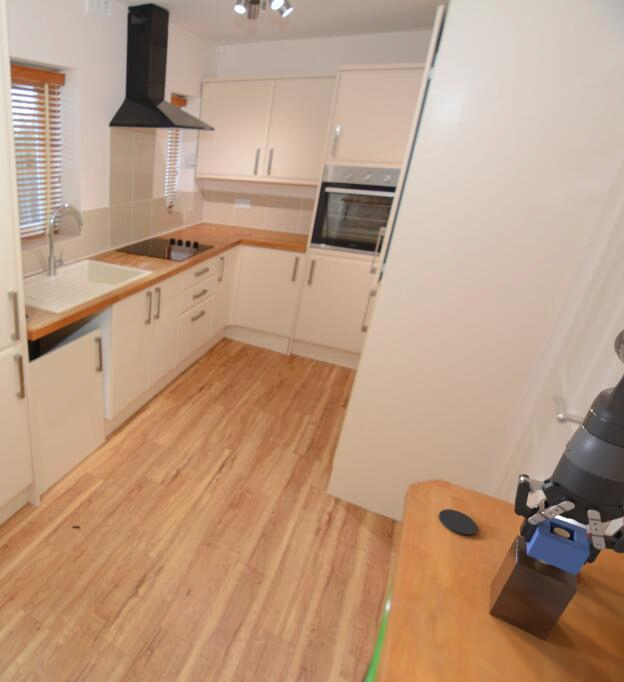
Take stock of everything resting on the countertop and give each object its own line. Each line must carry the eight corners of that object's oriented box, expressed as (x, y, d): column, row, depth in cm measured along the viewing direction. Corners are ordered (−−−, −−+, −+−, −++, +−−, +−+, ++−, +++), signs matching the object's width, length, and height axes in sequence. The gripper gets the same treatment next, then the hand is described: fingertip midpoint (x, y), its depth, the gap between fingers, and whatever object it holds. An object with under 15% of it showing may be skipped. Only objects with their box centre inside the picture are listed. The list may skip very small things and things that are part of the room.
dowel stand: (543, 607, 76) (592, 529, 68) (544, 641, 71) (597, 560, 63) (491, 583, 80) (531, 507, 72) (488, 613, 75) (531, 535, 67)
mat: (478, 521, 92) (478, 519, 92) (475, 541, 88) (476, 539, 88) (440, 506, 96) (441, 504, 96) (436, 524, 92) (437, 523, 92)
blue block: (574, 550, 70) (586, 529, 68) (576, 575, 66) (590, 553, 64) (526, 531, 73) (537, 511, 71) (526, 555, 69) (538, 533, 67)
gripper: (533, 453, 64) (492, 540, 71) (688, 501, 55) (623, 594, 62) (533, 428, 69) (494, 511, 76) (674, 469, 61) (616, 558, 68)
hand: (552, 548), depth 69 cm, fingers closed on blue block, 5 cm apart
